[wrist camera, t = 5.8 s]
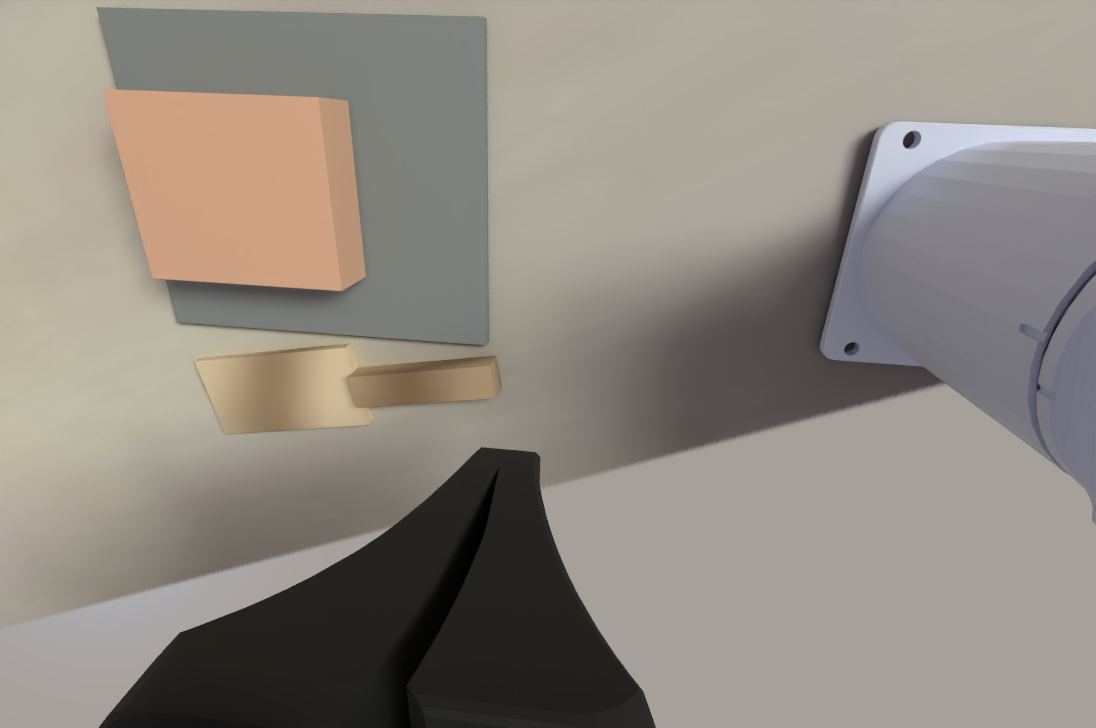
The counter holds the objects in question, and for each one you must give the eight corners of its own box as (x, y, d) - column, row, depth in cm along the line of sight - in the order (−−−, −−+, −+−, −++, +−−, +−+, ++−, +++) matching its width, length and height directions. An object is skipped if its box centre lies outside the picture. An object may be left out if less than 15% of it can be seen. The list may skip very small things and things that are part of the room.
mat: (486, 19, 17) (483, 17, 17) (488, 341, 21) (486, 345, 21) (107, 9, 18) (96, 7, 18) (184, 319, 22) (177, 322, 22)
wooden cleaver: (490, 330, 21) (485, 339, 20) (505, 410, 23) (501, 422, 22) (202, 356, 23) (185, 366, 22) (232, 428, 25) (217, 440, 24)
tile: (318, 97, 16) (101, 88, 17) (341, 291, 18) (152, 278, 19) (349, 100, 18) (155, 93, 19) (367, 275, 20) (195, 264, 21)
